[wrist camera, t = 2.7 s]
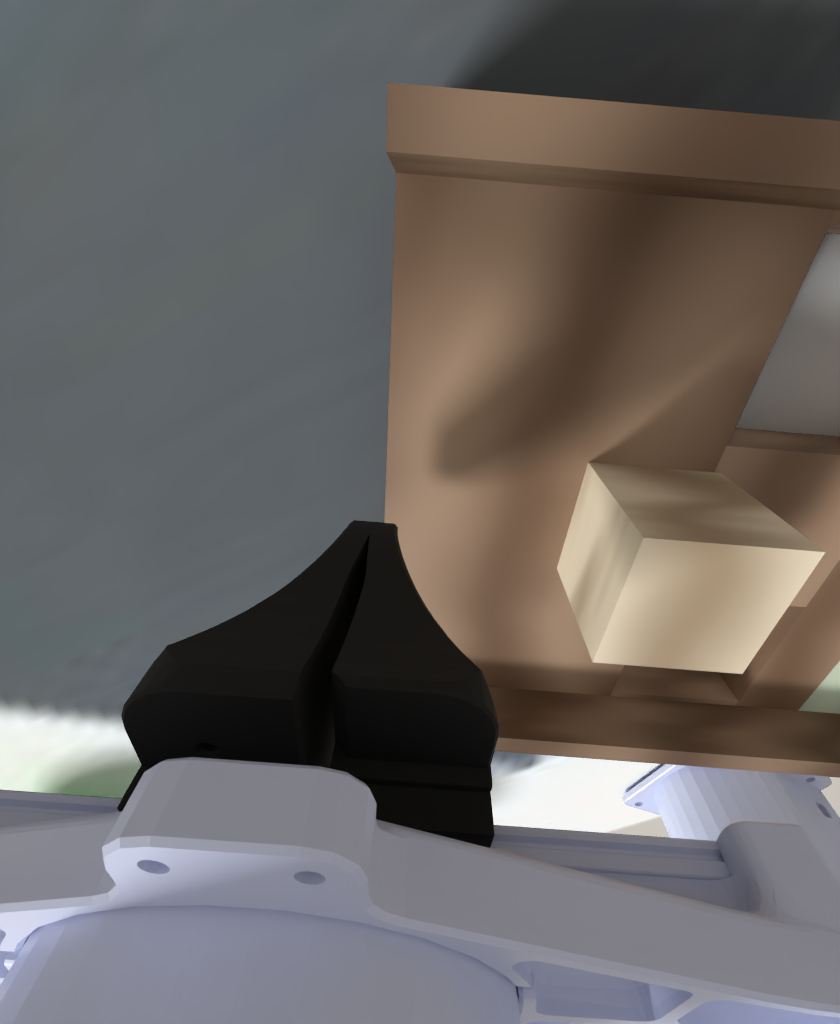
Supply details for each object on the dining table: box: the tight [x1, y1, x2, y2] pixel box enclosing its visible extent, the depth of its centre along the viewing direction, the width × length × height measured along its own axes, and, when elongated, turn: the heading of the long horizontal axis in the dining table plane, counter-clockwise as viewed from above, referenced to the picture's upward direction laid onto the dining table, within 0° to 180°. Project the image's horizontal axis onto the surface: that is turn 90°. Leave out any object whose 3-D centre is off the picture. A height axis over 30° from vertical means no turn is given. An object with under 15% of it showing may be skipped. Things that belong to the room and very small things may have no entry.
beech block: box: [557, 462, 825, 674], centre depth 14 cm, size 4×4×4 cm
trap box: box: [385, 82, 840, 777], centre depth 15 cm, size 28×21×5 cm
